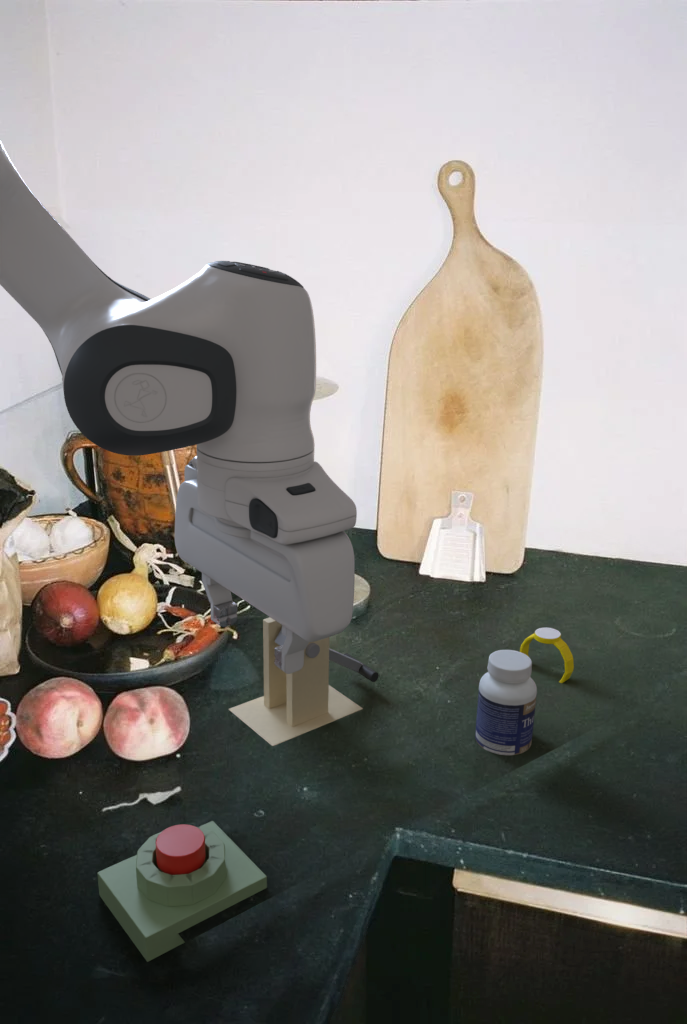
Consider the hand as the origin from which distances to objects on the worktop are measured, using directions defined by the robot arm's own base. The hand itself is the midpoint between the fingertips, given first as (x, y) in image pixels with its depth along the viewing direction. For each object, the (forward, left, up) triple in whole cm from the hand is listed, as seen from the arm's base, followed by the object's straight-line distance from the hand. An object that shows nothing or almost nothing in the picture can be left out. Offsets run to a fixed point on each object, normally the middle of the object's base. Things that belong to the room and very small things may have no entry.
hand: (255, 644), depth 76 cm
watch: (+37, -1, -16) cm, 40 cm away
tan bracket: (+11, +9, -16) cm, 21 cm away
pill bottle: (+24, -7, -16) cm, 29 cm away
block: (-10, -6, -16) cm, 20 cm away
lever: (+14, +9, -10) cm, 19 cm away
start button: (-10, -6, -12) cm, 17 cm away
